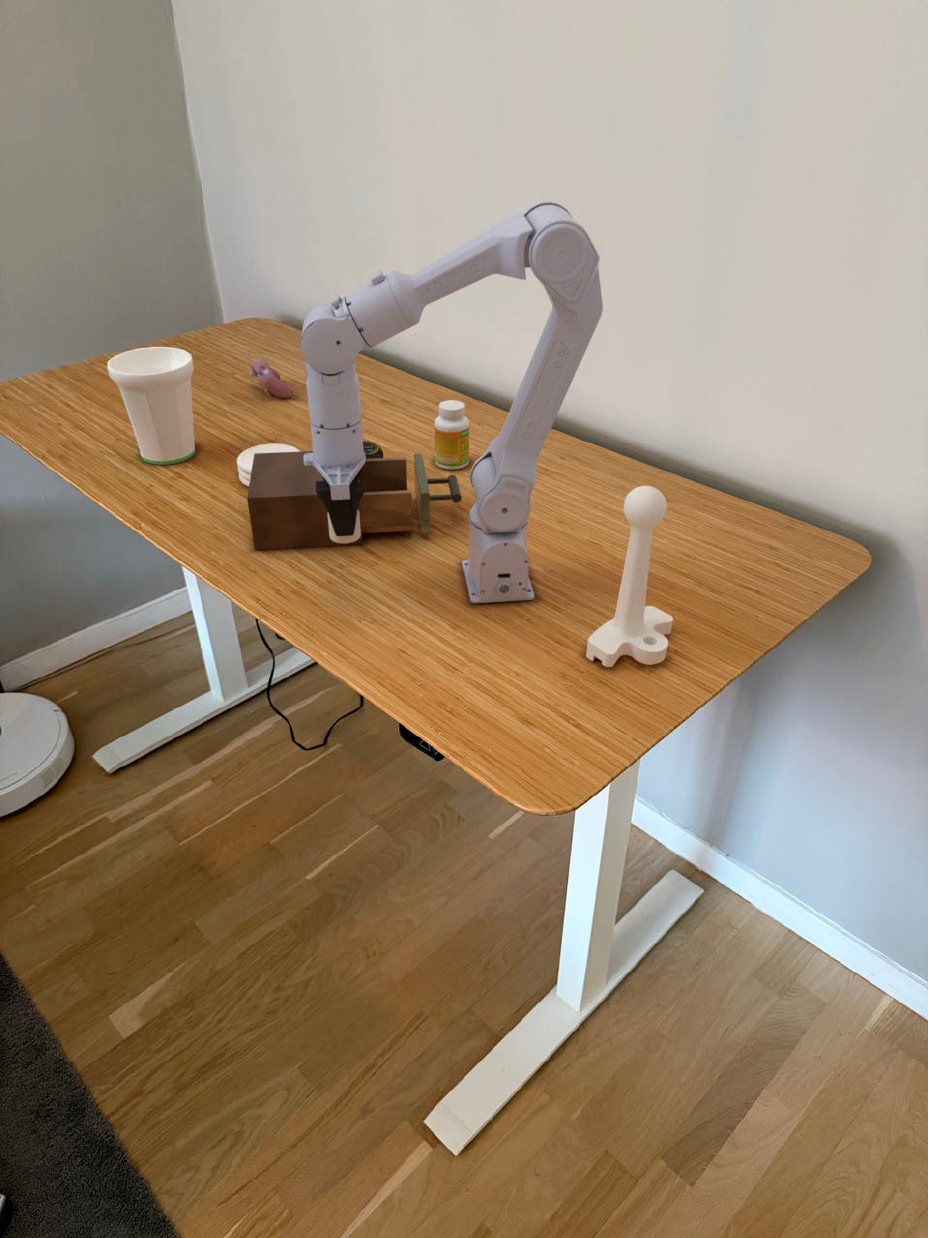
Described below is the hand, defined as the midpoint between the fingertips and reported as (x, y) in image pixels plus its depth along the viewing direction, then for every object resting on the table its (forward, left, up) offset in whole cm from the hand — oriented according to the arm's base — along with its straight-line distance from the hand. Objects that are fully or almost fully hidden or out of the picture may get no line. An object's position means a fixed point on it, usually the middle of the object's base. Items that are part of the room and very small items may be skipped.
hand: (344, 525), depth 108 cm
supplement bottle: (+34, -17, -9) cm, 39 cm away
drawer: (+17, -7, -8) cm, 20 cm away
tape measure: (+32, -3, -9) cm, 33 cm away
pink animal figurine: (+67, +13, -9) cm, 68 cm away
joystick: (-17, -32, -9) cm, 38 cm away
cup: (+42, +28, -9) cm, 51 cm away
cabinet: (+17, +5, -9) cm, 19 cm away
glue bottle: (0, 0, -1) cm, 1 cm away
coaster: (+32, +11, -9) cm, 35 cm away
